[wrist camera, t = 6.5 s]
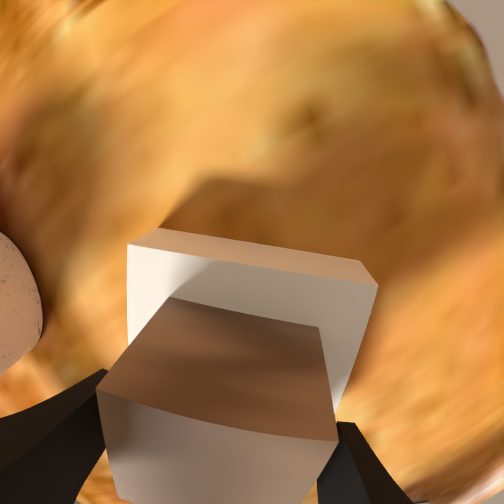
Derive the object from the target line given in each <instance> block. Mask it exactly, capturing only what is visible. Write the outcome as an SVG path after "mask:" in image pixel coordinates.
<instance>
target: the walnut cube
mask: <svg viewBox="0 0 504 504" xmlns="http://www.w3.org/2000/svg"><path fill="white" fill-rule="evenodd" d="M96 394H97V401H98V407H99V413H100V419H101V425H102V430H103V436H104V441H105V445H106V450H107V455H108V459H109V463H110V468H111V472H112V476H113V480H114V483H115V487H116V491H117V494H118V498H121V499H123V500H126V501H129V502H132V503H135V504H301V503H302V502H303V500H304V499H305V497H306V496H307V494H308V492H309V491H310V489H311V488H312V486H313V485H314V483H315V482H316V480H317V478H318V477H319V475H320V473H321V472H322V470H323V469H324V467H325V465H326V464H327V462H328V460H329V458H330V457H331V455H332V453H333V451H334V450H335V448H336V446H337V444H338V443H339V439H338V433H337V426H336V420H335V414H334V408H333V402H332V396H331V391H330V385H329V379H328V374H327V369H326V363H325V358H324V353H323V347H322V342H321V337H320V332H319V327H314V326H308V325H303V324H297V323H292V322H286V321H281V320H276V319H271V318H265V317H260V316H255V315H250V314H245V313H241V312H236V311H231V310H226V309H222V308H217V307H212V306H208V305H203V304H199V303H195V302H190V301H186V300H182V299H177V298H173V297H168V298H167V299H166V301H165V302H164V303H163V304H162V305H161V307H160V308H159V309H158V310H157V312H156V313H155V314H154V315H153V316H152V318H151V319H150V320H149V321H148V323H147V324H146V325H145V326H144V327H143V329H142V330H141V331H140V332H139V334H138V335H137V336H136V337H135V339H134V340H133V341H132V342H131V344H130V345H129V346H128V347H127V349H126V350H125V351H124V352H123V354H122V355H121V356H120V357H119V359H118V360H117V361H116V363H115V364H114V365H113V366H112V368H111V369H110V370H109V371H108V373H107V374H106V375H105V377H104V378H103V379H102V380H101V382H100V383H99V384H98V386H97V387H96Z"/></svg>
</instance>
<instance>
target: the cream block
mask: <svg viewBox="0 0 504 504" xmlns="http://www.w3.org/2000/svg"><path fill="white" fill-rule="evenodd" d="M378 286H379V285H378V284H377V282H376V281H375V280H374V278H373V277H372V276H371V275H370V273H369V272H368V271H367V269H366V268H365V267H364V265H363V264H362V263H361V262H360V260H354V259H348V258H342V257H336V256H331V255H325V254H319V253H313V252H307V251H300V250H294V249H288V248H282V247H276V246H270V245H264V244H258V243H252V242H245V241H239V240H233V239H227V238H221V237H214V236H208V235H202V234H195V233H189V232H183V231H176V230H170V229H163V228H156V229H154V230H153V231H151V232H149V233H147V234H145V235H143V236H142V237H140V238H138V239H136V240H134V241H132V242H131V243H129V244H128V250H127V324H128V346H129V345H130V344H131V342H132V341H133V340H134V339H135V337H136V336H137V335H138V334H139V332H140V331H141V330H142V329H143V327H144V326H145V325H146V324H147V323H148V321H149V320H150V319H151V318H152V316H153V315H154V314H155V313H156V312H157V310H158V309H159V308H160V307H161V305H162V304H163V303H164V302H165V301H166V299H167V298H168V297H173V298H177V299H182V300H186V301H190V302H195V303H199V304H203V305H208V306H212V307H217V308H222V309H226V310H231V311H236V312H241V313H245V314H250V315H255V316H260V317H265V318H271V319H276V320H281V321H286V322H292V323H297V324H303V325H308V326H314V327H319V332H320V337H321V342H322V347H323V353H324V358H325V363H326V369H327V374H328V379H329V385H330V391H331V396H332V402H333V408H334V414H335V412H336V410H337V407H338V405H339V402H340V400H341V397H342V395H343V392H344V390H345V387H346V384H347V382H348V379H349V376H350V374H351V371H352V368H353V365H354V363H355V360H356V357H357V354H358V351H359V348H360V345H361V342H362V339H363V336H364V333H365V330H366V327H367V324H368V321H369V317H370V314H371V311H372V307H373V304H374V301H375V297H376V294H377V290H378Z"/></svg>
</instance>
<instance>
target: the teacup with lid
mask: <svg viewBox="0 0 504 504" xmlns="http://www.w3.org/2000/svg"><path fill="white" fill-rule="evenodd" d="M42 324H43V313H42V305H41V299H40V295H39V291H38V288H37V285H36V282H35V279H34V277H33V274H32V272H31V270H30V268H29V266H28V264H27V262H26V260H25V259H24V257H23V255H22V254H21V252H20V251H19V249H18V248H17V247H16V246H15V244H14V243H13V242H12V241H11V240H10V239H9V238H8V237H6V236H5V235H4V234H2V233H1V232H0V376H1V375H2V374H3V373H4V372H5V371H7V370H8V369H9V368H10V367H11V366H12V365H13V364H15V363H16V362H17V361H18V360H19V359H20V358H22V357H23V356H24V355H25V354H26V353H27V352H29V351H30V350H31V349H32V348H33V347H34V346H35V345H36V344H37V342H38V340H39V338H40V335H41V331H42Z"/></svg>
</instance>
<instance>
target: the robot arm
mask: <svg viewBox="0 0 504 504" xmlns="http://www.w3.org/2000/svg"><path fill="white" fill-rule="evenodd" d="M107 373H108V370H105V369H101V370H99V371H98V372H96V373H94V374H92V375H91V376H89V377H87V378H85V379H84V380H82V381H80V382H79V383H77V384H75V385H73V386H72V387H70V388H68V389H66V390H64V391H63V392H61V393H59V394H57V395H55V396H53V397H51V398H49V399H47V400H45V401H43V402H41V403H39V404H37V405H35V406H32V407H30V408H28V409H25V410H23V411H20V412H18V413H15V414H12V415H9V416H6V417H3V418H0V504H74V502H75V500H76V498H77V495H78V493H79V491H80V489H81V487H82V486H83V484H84V482H85V480H86V479H87V477H88V476H89V474H90V472H91V471H92V469H93V468H94V466H95V464H96V463H97V461H98V460H99V458H100V457H101V455H102V453H103V452H104V450H105V449H106V445H105V441H104V436H103V430H102V425H101V419H100V413H99V407H98V401H97V394H96V387H97V386H98V384H99V383H100V382H101V380H102V379H103V378H104V377H105V375H106V374H107ZM336 426H337V433H338V439H339V443H338V444H337V446H336V448H335V450H334V451H333V453H332V455H331V457H330V458H329V460H328V462H327V464H326V465H325V467H324V469H323V470H322V472H321V473H320V475H319V477H318V478H317V493H318V504H414V503H413V502H412V501H411V500H410V499H409V498H408V497H407V496H406V494H405V493H404V492H403V491H402V490H401V488H400V487H399V486H398V485H397V484H396V482H395V481H394V480H393V479H392V477H391V476H390V475H389V473H388V472H387V471H386V469H385V468H384V466H383V465H382V464H381V462H380V461H379V459H378V458H377V456H376V455H375V453H374V452H373V450H372V449H371V447H370V446H369V444H368V443H367V441H366V440H365V438H364V436H363V435H362V433H361V432H360V430H359V429H358V427H357V426H356V424H355V423H351V422H339V421H337V423H336ZM418 504H431V503H430V502H425V503H418Z"/></svg>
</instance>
